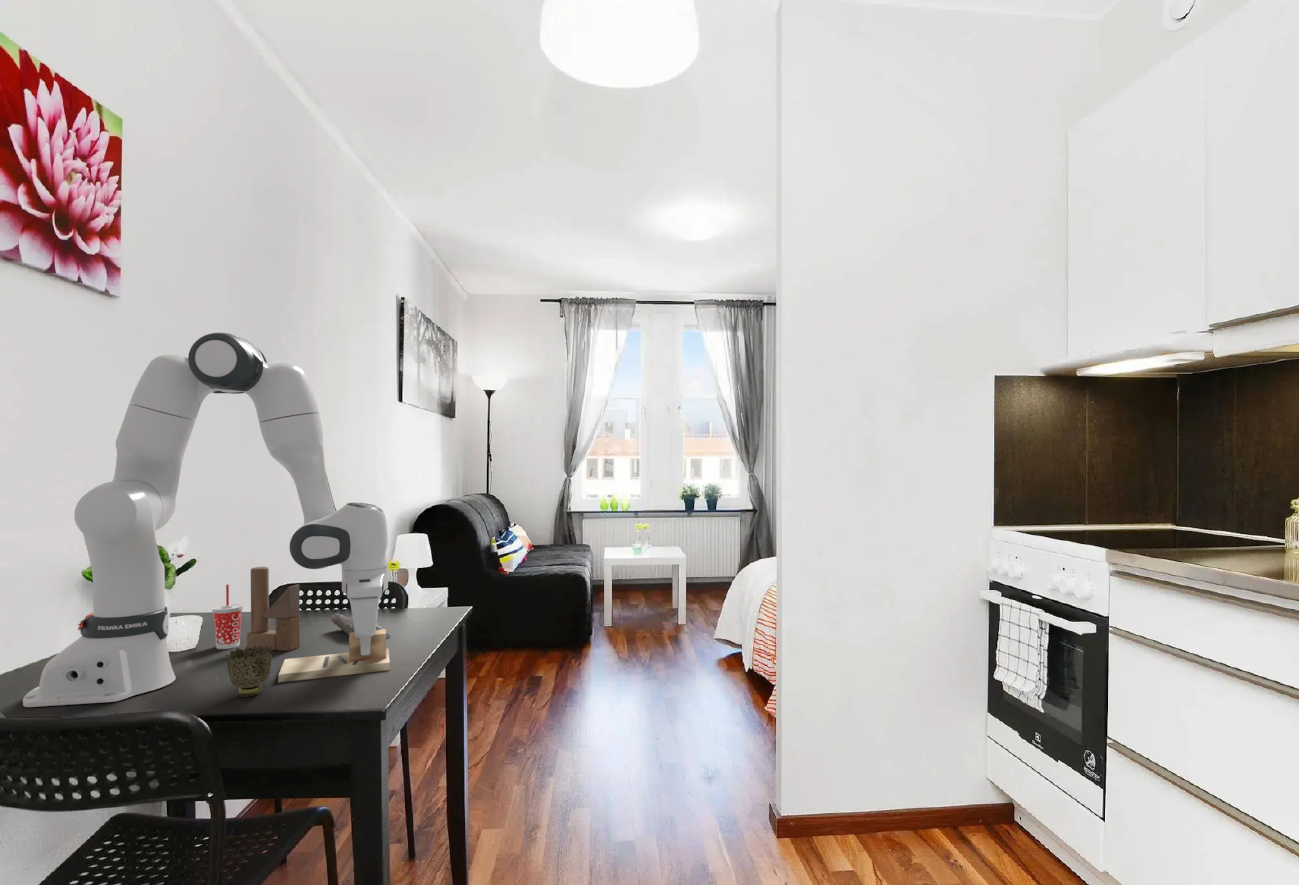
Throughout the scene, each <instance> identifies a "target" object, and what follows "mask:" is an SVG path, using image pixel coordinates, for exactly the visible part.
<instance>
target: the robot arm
mask: <svg viewBox="0 0 1299 885" xmlns="http://www.w3.org/2000/svg"><path fill="white" fill-rule="evenodd" d="M211 393H213V394H233V395H234V394H235V395H236V394H239V395H240V394H245V395H248V397H249V398H250V399H251V401H252V402H253V404H254V407H255V410H256V415H257V419H258V425H259V428H260V429H259V430H260V432H261V436H262V439H263V442H264V443H265V444H264V445H265V446H266V449H267V450H268V452H269V455H270V456H271V457H272V458H273V459H274V460H275V461H276V462H278V463H279V464H280V465H282V467H283V468H284V469H286V470H287V472H288V473H289V475H290V476H291V478H292V479H293V482H294V484H295V488H296V492H297V495H298V499H299V503H300V507H301V511H302V513H303V514H302V515H303V525H301V526H300V527H299V528H298V529H297V530H296V531H295V532H294V533H293V535H292V536H291V538H290V542H289V552H290V556H291V558H292V559H293V561H294V562H295V563H296V564H297V565H298V566H301V568H305V569H309V570H320V569H321V570H322V569H326V568H328V567H332V566H336V565H340V566H341V592H342V593H344V594H345V595H346V598H347V599H348V600H349V602H350V603H349V604H350V609H351V610H350V611H351V617H352V619H353V627H354V633H355V636H356V637H357V638H360V646H361V655H369V654H370V644H371V636H374V635H375V631H376V624H378V623H377V620H378V614H379V613H378V612H379V604H380V600H381V598H382V596H383V593H384V592H385V590H388V588H389V581H388V580H389V573H388V572H389V566H388V564H389V563H388V561H387V555H386V553H387V549H388V542H389V541H388V524H387V518H386V514H385V512H384V510H383V509H382V508H381V507H379V506H377V505H374V504H370V503H364V502H349V503H347V502H346V504H344V505H343V506H341V508H339V509H338V510H337V508H336V505H335V502H334V498H333V495H332V491H331V486H330V484H329V478H328V476H327V471H326V466H325V451H324V449H325V448H324V435H323V427H322V419H321V415H320V412H319V407H318V404H317V400H316V397H315V394H314V391H313V388H312V386H311V384H310V381H309V379H308V377H307V375H306V373H305V371H304V370H303V369H302V368H301V367H299V366H298V365H295V364H291V363H284V362H280V363H268V361H267V359H266V357H265V355H264V354H263V352H262V351H261V350H260V349H259V348H258V347H256V346H255V345H254V344H253V343H251V342H250V341H248V340H247V339H245V338H242V337H239V336H236V335H234V334H231V333H226V332H212V333H208V334H205V335H203V336H201V337H199V338H198V339H197V340H196V341H194V343H193V344H192V345H191V347H190V349H189V352H188V356H187V357H184V356H181V355H179V354H178V355H175V354H163V355H162V354H161V355H158V356H156V357H155V358H153V359H152V360H151V361H150V362H149V364H148V365H147V367H146V368H145V370H144V371H143V373H142V375H141V377H140V378H139V381H137V385H136V387H135V389H134V391H133V393H132V395H131V398H130V399H129V400H130V401H129V403H128V407H127V408H126V411H125V415H124V417H123V421H122V423H121V425H120V428H119V432H118V433H117V437H116V440H115V448H116V458H115V459H116V460H115V470H114V476H113V478H112V479H113V480H112V481H109V482H105V483H101V484H99V485H96V486H95V487H93V488H92V489H91V490H89V491H88V492H87V493H85V494H84V495H83V496H82V497H81V498H80V499H79V500H78V501H77V503H76V505H75V508H74V516H73V518H74V522H75V524H76V526H77V528H78V530H79V531H80V532H81V533H82V534H83V539H84V543H85V547H86V550H87V554H88V558H89V563H90V567H91V573H92V603H93V604H92V606H93V607H92V608H93V609H92V611H93V612H91V613H89V614H86V616H85V617H84V619H82V620H81V621H80V623H78V624H77V625H78V628H77V630H78V631H79V632H80V635H81V636H80V637H78V638H77V639H76V640H75V641H73V642H72V643H70V644H69V645H68V646H67V647H65V648H64V649H63V650H61V651H60V652H59V653H57V654H56V655H55V656H54V657H53V658H51V659H50V660H49V661H48V662H47V663H46V664H45V666H44V668H43V669H42V672H41V676H40V680H39V685H38V686H37V687H35V688H33V689H32V690H30V691H28V692H27V693H26V694H25V695H24V697H23V699H22V706H23V707H24V708H36V707H48V706H49V707H50V706H67V705H69V706H70V705H83V704H97V703H98V704H101V703H111V702H112V703H113V702H119V701H122V700H125V699H129V698H130V697H133V696H136V695H141V694H144V693H148V692H151V691H155V690H157V689H160V688H163V687H166V686H168V685H170V684H172V683H173V682H175V680H176V675H175V672H174V669H173V667H172V663H171V659H170V654H169V648H168V647H169V646H168V640H167V637H168V635H169V614H168V613H169V612H168V607H167V606H166V598H165V597H166V590H165V589H166V587H165V586H166V585H165V584H166V582H165V581H166V578H165V577H166V576H165V572H166V571H165V570H166V569H165V565H164V562H162V559H161V556H160V552H159V548H158V544H157V539H156V538H157V537H156V532H157V531H158V530H159V529H162V527H164V526H165V525H166V524H167V523H168V522H169V521H170V520H171V518H172V517H173V515H174V513H175V510H176V505H177V503H176V497H177V494H178V490H179V489H178V488H179V483H180V478H181V470H182V464H183V460H184V459H183V458H184V456H185V453H186V451H187V447H188V444H189V441H190V439H191V435H192V432H193V429H194V428H195V427H194V426H195V425H196V421H197V418H198V415H199V411H200V408H201V406H202V403H203V401H204V400H205V398H207V397H208V395H209V394H211Z"/></svg>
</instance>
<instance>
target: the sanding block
mask: <svg viewBox="0 0 1299 885" xmlns="http://www.w3.org/2000/svg"><path fill="white" fill-rule="evenodd" d="M386 631H387V630H386V629H385V628H384V629H382V630H376V631H375V635H374V636H371V644H370V654H369V655H361V646H360V638H357V637H356V636H355V633H354V632H350V634H349V635H348V653H349V662H354V661H364V660H373V659H383V658H386V649H387V638H386Z"/></svg>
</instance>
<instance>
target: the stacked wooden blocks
mask: <svg viewBox="0 0 1299 885" xmlns="http://www.w3.org/2000/svg"><path fill="white" fill-rule="evenodd" d="M269 571H270V569H269V567H267V566H256V567H251V568H250V631H249V632H247V634H246V647H248V648H249V650H252V649H253V647H254V646H256V647H257V648H258V647H259V646H262V647H263V649H264V648H265V646H268V649H269V648H270V647H271V646H272V648H273V651H279V652H280V651H282V652H283V651H285V652H291V651H293V650H296V649H297V648H300V644H301V643H300V642H301V640H300V638H301V637H300V635H301V633H300V631H301V630H300V628H301V627H300V625H301V624H300V622H301V620H300V619H301V618H300V613H301V612H300V584H295V585H291V586H289V587H287V589H286V590H284V592H282V594H281V595H280V596H279V597H278V598H277V600H276V601H275V602H274V603H273V604H272V605H271V606H270V586H269V584H270V582H269V581H270V580H269V577H270V576H269V575H270V574H269V573H270V572H269ZM270 619H275V630H274V629H270Z"/></svg>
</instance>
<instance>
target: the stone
mask: <svg viewBox="0 0 1299 885" xmlns="http://www.w3.org/2000/svg"><path fill="white" fill-rule="evenodd" d="M330 620H331V622H332V623H333V624H334V625H335V626H337V628H340V629H341V630H342V631H343V632H345V633H346V635H348V636H349V634H350V632H354V627H353V619H352V616H345V615H343V614H341V613H338V612H337V613H334V614H333V615H331V616H330ZM382 629H385V628H384V627H382V626H381V625H380V624H378V623H376V630H382ZM390 637H391V635H390V634H389V632H388V631H387V630H386V639H390Z"/></svg>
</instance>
